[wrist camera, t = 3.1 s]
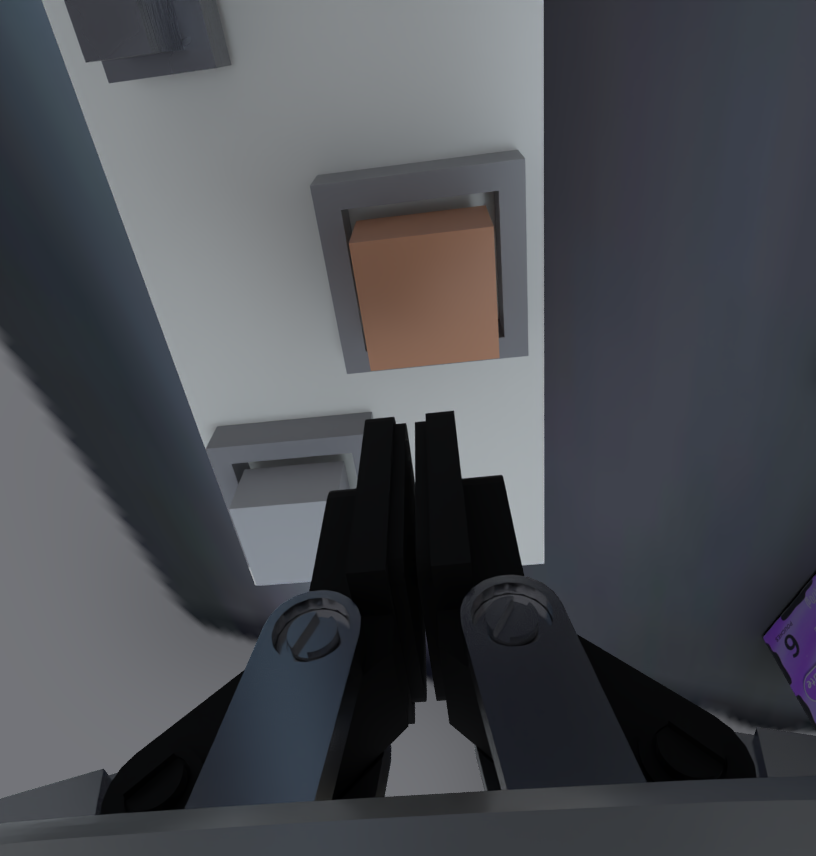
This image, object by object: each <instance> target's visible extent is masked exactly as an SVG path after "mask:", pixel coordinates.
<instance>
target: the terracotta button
mask: <svg viewBox="0 0 816 856" xmlns="http://www.w3.org/2000/svg"><path fill="white" fill-rule="evenodd" d="M349 248H350V254H351V259H352V265H353V271H354V277H355V283H356V288H357V294H358V300H359V306H360V311H361V317H362V323H363V329H364V335H365V340H366V346H367V352H368V358H369V364H370V369H371V371H378V370H387V369H397V368H407V367H417V366H427V365H437V364H447V363H457V362H467V361H477V360H487V359H497V358H500V356H499V333H498V311H497V289H496V266H495V244H494V226H493V223H492V221H491V218H490V215H489V213H488V210H487V207H486V205H484V206H475V207H467V208H459V209H450V210H442V211H434V212H426V213H417V214H409V215H401V216H392V217H384V218H376V219H367V220H359V221H356V223H355V226H354V229H353V232H352V235H351V238H350V241H349Z"/></svg>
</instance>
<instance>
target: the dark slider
mask: <svg viewBox="0 0 816 856" xmlns="http://www.w3.org/2000/svg"><path fill="white" fill-rule="evenodd" d="M64 2H65V5H66V8H67V11H68V13H69V16H70V19H71V22H72V25H73V28H74V31H75V33H76V36H77V39H78V42H79V45H80V48H81V51H82V53H83V56H84V59H85V62H86V63H87V62H97V61H101V62H102V64H103V67H104V70H105V73H106V76H107V79H108V82H109V83H115V82H122V81H129V80H136V79H143V78H150V77H157V76H164V75H171V74H178V73H185V72H192V71H199V70H206V69H213V68H219V67H224V66H230V65H231V61H230V57H229V53H228V49H227V45H226V40H225V36H224V32H223V28H222V24H221V20H220V15H219V11H218V7H217V3H216V0H64Z"/></svg>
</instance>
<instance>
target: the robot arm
mask: <svg viewBox="0 0 816 856" xmlns="http://www.w3.org/2000/svg"><path fill="white" fill-rule="evenodd" d="M425 417H426V421H421V422H415V479H414V472H413V465H412V458H411V451H410V444H409V437H408V430H407V425H406V423H401V424H396V421H395V418H394V417H385V418H375V419H366V420H365V424H364V432H363V439H362V447H361V455H360V463H359V471H358V479H357V487H356V488H355V489H344V490H333V491H330V492H329V493H328V496H327V501H326V506H325V511H324V516H323V522H322V527H321V532H320V538H319V543H318V548H317V553H316V559H315V564H314V569H313V575H312V580H311V585H310V590H309V592H306V593H303V594H300V595H297V596H295V597H293V598H291V599H290V600H288V601H286V602H284V603H283V604H281V605H280V606H279V607H278V608H277V609H276V610H275V611H274V612H273V613H272V614H271V615H270V617H269V618H268V620H267V622H266V623H265V625H264V627H263V629H262V631H261V634H260V636H259V638H258V640H257V643H256V645H255V647H254V650H253V652H252V654H251V657H250V659H249V661H248V664H247V666H246V668H245V670H244V671H243V672H241V673H240V674H239V675H237V676H236V677H235V678H233V679H232V680H231V681H230V682H228V683H227V684H226V685H224V686H223V687H222V688H221V689H219V690H218V691H217V692H215V693H214V694H213V695H211V696H210V697H209V698H208V699H206V700H205V701H204V702H203V703H201V704H200V705H198V706H197V707H196V708H195V709H193V710H192V711H191V712H190V713H188V714H187V715H186V716H184V717H183V718H182V719H180V720H179V721H178V722H177V723H175V724H174V725H173V726H172V727H170V728H169V729H167V730H166V731H165V732H164V733H162V734H161V735H160V736H158V737H157V738H156V739H155V740H153V741H152V742H151V743H149V744H148V745H147V746H146V747H144V748H143V749H142V750H140V751H139V752H138V753H136V754H135V755H134V756H133V757H132V758H131V759H130V760H129V761H128V762H127V763H126V764H125V765H124V766H123V767H122V768H121V769H120V770H119V772H118V773H115V774H112V775H108V774H107V773H106V771H105V770H104V769H101V770H97V771H94V772H90V773H87V774H84V775H80V776H77V777H74V778H70V779H66V780H63V781H59V782H56V783H53V784H49V785H46V786H42V787H39V788H35V789H32V790H28V791H25V792H21V793H18V794H15V795H11V796H8V797H4V798H1V799H0V856H816V736H813V735H807V734H800V733H793V732H786V731H779V730H772V729H766V728H759V727H756V731H755V734H754V735H751V734H744V733H738V732H734V731H733V730H732V729H731V728H730V727H728V726H727V725H726V724H724V723H723V722H722V721H720V720H719V719H718V718H716V717H715V716H714V715H712V714H710V713H709V712H707V711H705V710H704V709H702V708H700V707H698V706H697V705H695V704H693V703H692V702H690V701H688V700H687V699H685V698H683V697H682V696H680V695H678V694H677V693H675V692H673V691H672V690H670V689H668V688H666V687H665V686H663V685H661V684H660V683H658V682H656V681H655V680H653V679H651V678H650V677H648V676H646V675H645V674H643V673H641V672H640V671H638V670H636V669H635V668H633V667H631V666H629V665H628V664H626V663H624V662H623V661H621V660H619V659H618V658H616V657H614V656H613V655H611V654H609V653H608V652H606V651H604V650H603V649H601V648H599V647H598V646H596V645H594V644H592V643H591V642H589V641H587V640H586V639H584V638H582V637H581V636H579V635H577V634H576V632H575V629H574V627H573V625H572V623H571V621H570V619H569V617H568V615H567V613H566V610H565V608H564V606H563V604H562V602H561V601H560V599H559V598H558V597H557V595H556V594H555V592H554V591H553V590H551V589H550V588H549V587H547V586H546V585H545V584H543V583H542V582H539V581H537V580H534V579H532V578H530V577H525V576H524V573H523V568H522V563H521V558H520V554H519V549H518V544H517V540H516V535H515V530H514V525H513V521H512V516H511V511H510V506H509V502H508V497H507V492H506V487H505V483H504V479H503V476H502V475H494V476H483V477H473V478H462V476H461V467H460V458H459V450H458V441H457V432H456V423H455V415H454V411H445V412H435V413H426V414H425ZM425 630H426V637H427V643H428V649H429V656H430V662H431V668H432V675H433V681H434V688H435V694H436V699H437V701H441V700H446V702H447V709H448V715H449V723H450V724H451V725H452V726H453V727H454V728H455V729H457V730H458V731H459V732H461V734H463V735H464V736H465V737H466V738H468V739H469V740H470V741H471V742H473V743H474V745H475V754H476V759H477V763H478V767H479V771H480V775H481V779H482V783H483V787H484V791H481V792H466V793H465V792H463V793H447V794H429V795H411V796H394V797H385V792H386V787H387V781H388V776H389V770H390V764H391V743H392V742H393V741H394V740H395V739H396V738H397V737H398V736H399V735H400V734H401V733H402V732H403V731H404V730H405V729H406V728H407V727H408V724H414V723H415V702H426V700H427V683H426V638H425Z"/></svg>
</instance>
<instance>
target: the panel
mask: <svg viewBox="0 0 816 856" xmlns="http://www.w3.org/2000/svg"><path fill="white" fill-rule="evenodd" d="M42 2H43V5H44V8H45V11H46V13H47V16H48V19H49V21H50V24H51V27H52V30H53V32H54V35H55V38H56V41H57V43H58V46H59V49H60V52H61V54H62V57H63V60H64V63H65V65H66V68H67V71H68V74H69V76H70V79H71V82H72V84H73V87H74V90H75V93H76V95H77V98H78V101H79V104H80V106H81V109H82V112H83V115H84V117H85V120H86V123H87V126H88V128H89V131H90V134H91V137H92V139H93V142H94V145H95V147H96V150H97V153H98V156H99V158H100V161H101V164H102V167H103V169H104V172H105V175H106V178H107V180H108V183H109V186H110V189H111V191H112V194H113V197H114V200H115V202H116V205H117V208H118V210H119V213H120V216H121V219H122V221H123V224H124V227H125V230H126V232H127V235H128V238H129V241H130V243H131V246H132V249H133V252H134V254H135V257H136V260H137V263H138V265H139V268H140V271H141V273H142V276H143V279H144V282H145V284H146V287H147V290H148V293H149V295H150V298H151V301H152V304H153V306H154V309H155V312H156V315H157V317H158V320H159V323H160V326H161V328H162V331H163V334H164V336H165V339H166V342H167V345H168V347H169V350H170V353H171V356H172V358H173V361H174V364H175V367H176V369H177V372H178V375H179V378H180V380H181V383H182V386H183V389H184V391H185V394H186V397H187V399H188V402H189V405H190V408H191V410H192V413H193V416H194V419H195V421H196V424H197V427H198V430H199V432H200V435H201V438H202V441H203V443H204V446H205V449H206V452H207V454H208V457H209V460H210V463H211V465H212V468H213V471H214V474H215V476H216V479H217V482H218V485H219V487H220V490H221V493H222V496H223V498H224V501H225V504H226V506H227V509H228V512H229V515H230V517H231V514H230V511H229V507H230V505H231V502H232V500H233V497H234V495H235V492H236V490H237V487H238V485H239V482H240V480H241V477H242V475H243V472H244V470H245V469H256V468H267V467H278V466H289V465H301V464H312V463H323V462H334V461H344V463H345V468H346V472H347V477H348V481H349V486H350V489H355V488H356V487H357V479H358V471H359V463H360V455H361V447H362V439H363V432H364V424H365V420H366V419H375V418H385V417H394V418H395V421H396V424H401V423H406V425H407V430H408V437H409V444H410V451H411V458H412V465H413V472H414V479H415V422H421V421H426V417H425V414H426V413H435V412H445V411H454V415H455V423H456V432H457V441H458V450H459V458H460V467H461V476H462V478H473V477H483V476H494V475H502V476H503V479H504V483H505V487H506V492H507V497H508V502H509V506H510V511H511V516H512V521H513V525H514V530H515V535H516V540H517V544H518V549H519V554H520V558H521V563H522V565H532V564H544V0H216V3H217V7H218V11H219V15H220V20H221V24H222V28H223V32H224V36H225V40H226V45H227V49H228V53H229V57H230V61H231V65H230V66H224V67H219V68H213V69H206V70H199V71H192V72H185V73H178V74H171V75H164V76H157V77H150V78H143V79H136V80H129V81H122V82H115V83H109V82H108V79H107V76H106V73H105V70H104V67H103V64H102V62H101V61H97V62H87V63H86V62H85V59H84V56H83V53H82V51H81V48H80V45H79V42H78V39H77V36H76V33H75V31H74V28H73V25H72V22H71V19H70V16H69V13H68V11H67V8H66V5H65V2H64V0H42ZM484 205H486V207H487V210H488V213H489V215H490V218H491V221H492V223H493V226H494V244H495V266H496V289H497V311H498V333H499V356H500V358H497V359H487V360H477V361H467V362H457V363H447V364H437V365H427V366H417V367H407V368H397V369H387V370H378V371H371V369H370V364H369V358H368V352H367V346H366V340H365V335H364V329H363V323H362V317H361V311H360V306H359V300H358V294H357V288H356V283H355V277H354V271H353V265H352V259H351V254H350V248H349V241H350V238H351V235H352V232H353V229H354V226H355V223H356V221H359V220H367V219H376V218H384V217H392V216H401V215H409V214H417V213H426V212H434V211H442V210H450V209H459V208H467V207H475V206H484ZM231 520H232V523H233V526H234V528H235V525H234V522H233V519H232V517H231ZM235 531H236V534H237V537H238V539H239V536H238V533H237V530H236V528H235ZM239 542H240V545H241V548H242V550H243V547H242V544H241V541H240V539H239ZM243 553H244V556H245V558H246V555H245V552H244V550H243ZM246 561H247V558H246ZM247 564H248V567H249V569H250V566H249V563H248V561H247ZM250 572H251V569H250ZM251 575H252V578H253V580H254V577H253V574H252V572H251ZM254 583H255V580H254ZM255 585H256V583H255Z"/></svg>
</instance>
